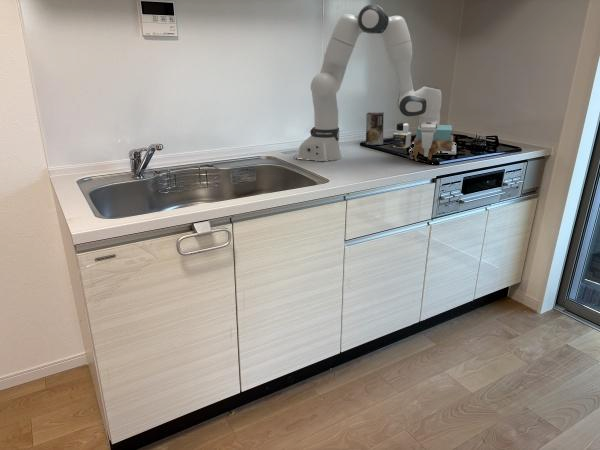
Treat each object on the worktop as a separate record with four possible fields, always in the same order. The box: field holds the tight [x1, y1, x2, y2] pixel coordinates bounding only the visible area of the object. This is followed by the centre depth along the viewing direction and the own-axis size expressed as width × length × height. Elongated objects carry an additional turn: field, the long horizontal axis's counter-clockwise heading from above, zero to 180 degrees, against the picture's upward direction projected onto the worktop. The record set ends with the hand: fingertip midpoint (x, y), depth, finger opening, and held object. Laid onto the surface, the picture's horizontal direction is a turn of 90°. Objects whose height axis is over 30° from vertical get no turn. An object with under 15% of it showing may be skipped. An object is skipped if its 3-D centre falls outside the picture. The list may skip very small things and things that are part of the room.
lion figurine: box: [406, 141, 441, 162], centre depth 202 cm, size 15×5×9 cm, turn 80°
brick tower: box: [408, 124, 457, 155], centre depth 223 cm, size 22×22×11 cm
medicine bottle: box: [392, 122, 412, 149], centre depth 229 cm, size 7×7×12 cm
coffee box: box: [365, 112, 385, 145], centre depth 237 cm, size 9×6×16 cm
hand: (426, 154), depth 203 cm, fingers open, 7 cm apart
